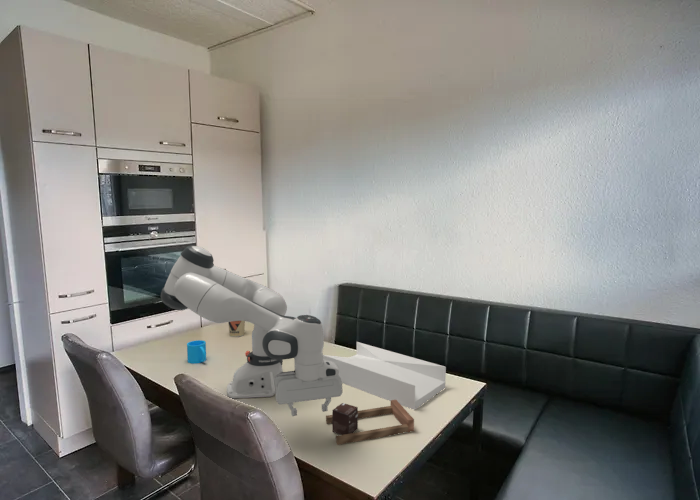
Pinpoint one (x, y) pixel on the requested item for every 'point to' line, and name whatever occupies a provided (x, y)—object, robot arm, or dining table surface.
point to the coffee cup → (236, 328)
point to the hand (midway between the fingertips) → (309, 412)
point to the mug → (196, 351)
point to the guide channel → (376, 433)
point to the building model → (391, 375)
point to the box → (344, 419)
